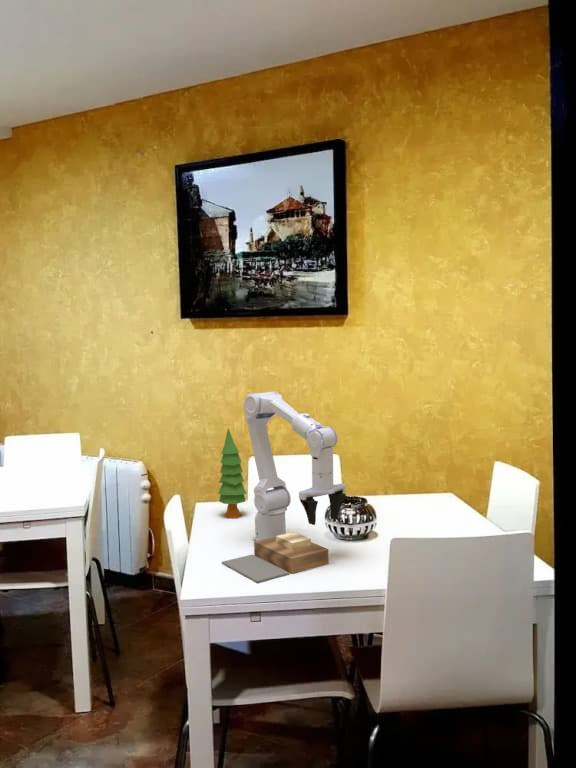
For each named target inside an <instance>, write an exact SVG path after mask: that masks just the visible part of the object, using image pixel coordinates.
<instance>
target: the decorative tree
mask: <svg viewBox="0 0 576 768" xmlns="http://www.w3.org/2000/svg"><path fill="white" fill-rule="evenodd" d="M224 441H225V442H224V445H223V446H222V447H223V448H222V450H221V455H222V457H221V460H220V464H222V465H221V468H220V471H219V473H220V474H221V476H220V479H219V482H218V483H219V484H221V486H220V488H219V491H218V493H217V495H220V496H219V500H218V502H219V503H220V504H221V503H222V504H224V505H227V507H226V512H225V514H224V517H225V518H226V519H238V518H239V517H242V516H243V515H242V513H241V512H240V510H239V509H238V504H241V503H245V502H246V496H245V495H247V491H246V489H245V487H244V485H243V482H244V481H245V480H244V477H243V476H242V473H243V468H242V466H241V464H242V460H241V457H240V451H239V449H238V447H237V446H236V444H235V441H234V439H233V436H232V434H231V431H230V429H229V428H227V430H226V436H225V440H224Z"/></svg>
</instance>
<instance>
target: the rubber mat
mask: <svg viewBox="0 0 576 768" xmlns="http://www.w3.org/2000/svg"><path fill="white" fill-rule="evenodd" d="M221 564H222V565H224V566H225V567H227V568H229V569H231V570H232V571H234V572H236V573H238V574H240V575H242V576H244V577H245V578H247V579H249V580H251V581H252V582H255V583H256V584H260V583H264V582H267V581H271V580H275V579H278V578H281V576H282V577H285V576H289V575H290V573H289V572H287V571H285V570H283V569H281V568H279V567H277V566H275V565H273V564H271V563H269V562H267V561H265V560H263V559H261V558H259V557H257V556H255V555H254V553H252V554H248V555H245V556H244V555H243V556H239V557H236V558H232V559H228V560H224V561H221ZM277 577H278V578H277ZM274 578H275V579H274ZM270 579H271V580H270ZM263 581H264V582H263Z"/></svg>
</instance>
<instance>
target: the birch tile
mask: <svg viewBox="0 0 576 768" xmlns="http://www.w3.org/2000/svg"><path fill="white" fill-rule="evenodd" d="M311 542H312V539H311V538H310V537H307V536H306V535H303V534H300V533H297V532H295V531H292V532H286V534H282V535H278V536H276V543H277V544H279V545H281V546H284V547H286V548H288V549H290V550H297V549H301V548H305V547H309V546H311Z"/></svg>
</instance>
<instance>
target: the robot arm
mask: <svg viewBox="0 0 576 768" xmlns="http://www.w3.org/2000/svg"><path fill="white" fill-rule="evenodd" d="M242 405H243V410H244V415H245V420H246V423H247V424H246V426H247V430H248V433H249V438H250V442H251V448H252V452H253V456H254V462H255V466H256V471H257V475H258V480H259V482H258V483H257V485H255V486H254V487H253V492H254V498H253V499H254V500H253V501H254V503H253V504H254V507H255V509H256V510H257V512H256V514H255V517H254V531H255V534H254V535H255V536H254V537H253V538H252V540H253V541H258V540H263V539H267V538H271V537H276V536H278V535H282V534H287V530H286V526H287V525H286V511H288V508H289V506H290V504H291V501H292V499H291V493H290V491H289V490H288V488H287V485H286V482H285V481H284V480H283V479H281V478H279V477H278V472H277V469H276V463H275V460H274V455H273V450H272V447H271V442H270V441H271V440H270V437H269V433H268V429H267V424H268V423H269V422H270V420H271V419H272V418H273V417H274V416H275V415H277V416H279V417H280V418H282V419H283V420H285V421H286V422H288V423H289V424H290V425H291V429H292V431H293V432H294V433H296V434H298V435H299V437H302V438H303V439H304V440H305V441H306V442H307V446H308V448H309V454H310V456H311V483H312V486H311V487H310V488H306V489H304V490H300V491H298V499H299V501H300V503H301V505H302V506H303V509H304V511H305V513H306V517H307V520H308V521H307V522H308V524H309V525H312V526H315V525H316V515H317V507H318V503H319V501H318V500H315V498H316V497H317V498H318V497H321V496H326V495H328V499H329V505H330V507H329V508H330V519H333V520H335V521H336V520H338V519H339V515H340V511H341V507H342V505H343V503H344V501H345V500H346V497H347V495H346V492H347V485H346V484H344V483H338V484H334V447H335V446H336V445H337V443H338V434H337V432H336V430H335V429H334V428H333V427H332V426H328V425H327V426H324V425H322V423H320V422H317V421H316V420H315V419H314V418H312V417H311V414H309V413H303V412H302V413H299V412H298V411H296V410H295V409H294V408H293V407H292V406H291V405H289V403H287V402H286V401H285V400H284V398H283V395H281V394H280V393H278V392H277V391H276V390H275V391H274V390H272V391H267V392H266V391H265V392H258V393H249V394H247V396H246V397H245V398H244V401H243V403H242Z"/></svg>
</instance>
